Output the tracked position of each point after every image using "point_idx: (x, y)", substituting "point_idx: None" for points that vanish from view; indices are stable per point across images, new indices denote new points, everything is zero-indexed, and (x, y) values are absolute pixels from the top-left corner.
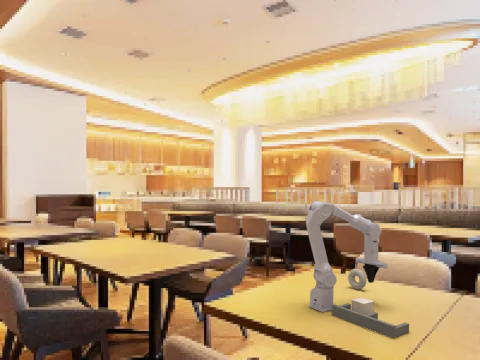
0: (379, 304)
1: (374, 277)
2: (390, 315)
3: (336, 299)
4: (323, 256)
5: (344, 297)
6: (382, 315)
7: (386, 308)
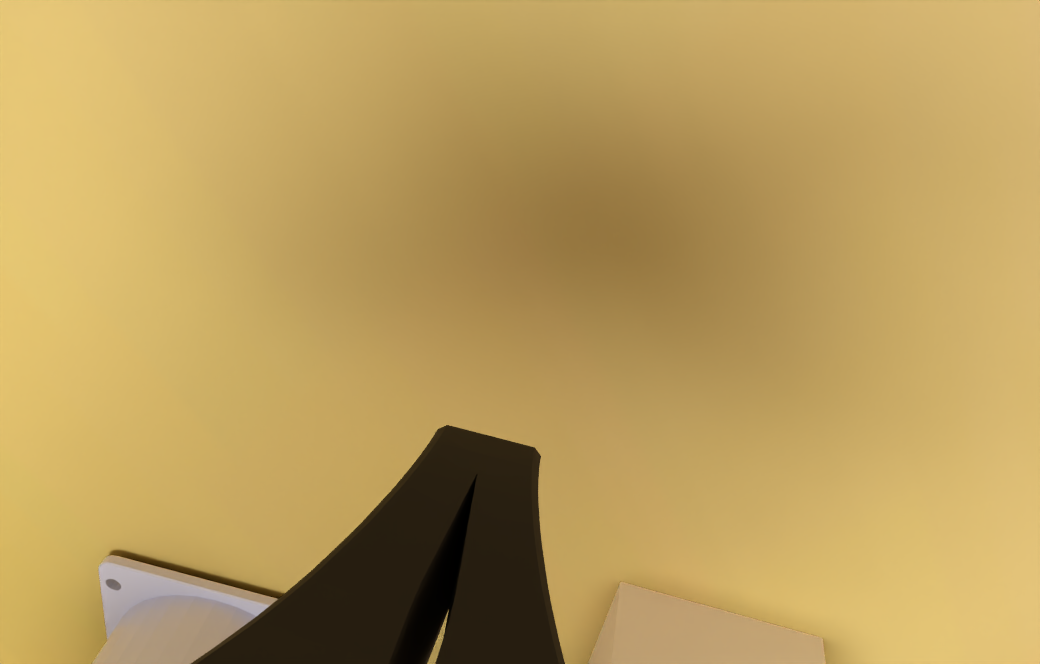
0: (707, 89)
1: (534, 568)
2: (1035, 507)
3: (61, 322)
4: None
5: (37, 137)
6: (919, 561)
7: (900, 235)
